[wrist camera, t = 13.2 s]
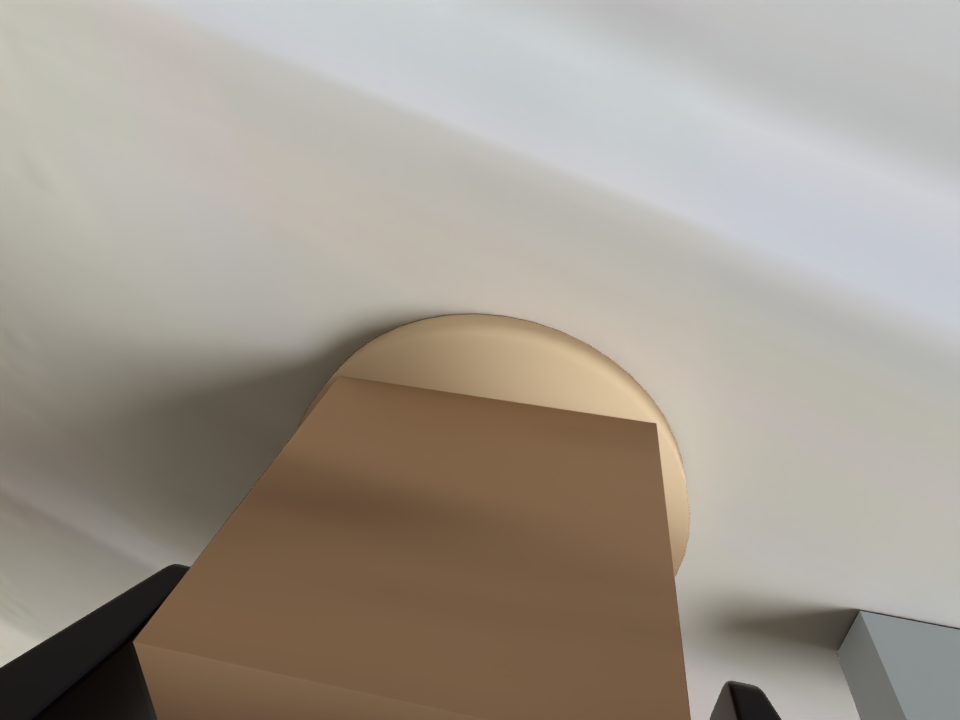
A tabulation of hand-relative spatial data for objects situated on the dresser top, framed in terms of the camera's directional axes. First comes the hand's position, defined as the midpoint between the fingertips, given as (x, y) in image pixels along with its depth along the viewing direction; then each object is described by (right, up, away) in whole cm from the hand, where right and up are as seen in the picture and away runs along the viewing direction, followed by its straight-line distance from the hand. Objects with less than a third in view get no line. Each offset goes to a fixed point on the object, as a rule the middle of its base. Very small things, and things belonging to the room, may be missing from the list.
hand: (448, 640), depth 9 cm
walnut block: (+1, +1, +2) cm, 2 cm away
